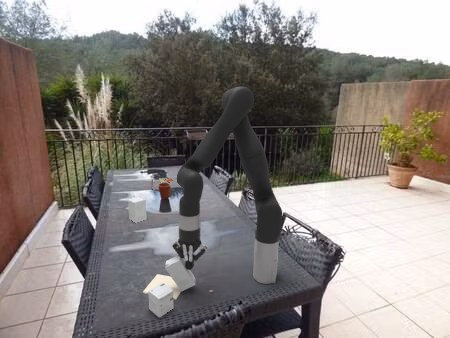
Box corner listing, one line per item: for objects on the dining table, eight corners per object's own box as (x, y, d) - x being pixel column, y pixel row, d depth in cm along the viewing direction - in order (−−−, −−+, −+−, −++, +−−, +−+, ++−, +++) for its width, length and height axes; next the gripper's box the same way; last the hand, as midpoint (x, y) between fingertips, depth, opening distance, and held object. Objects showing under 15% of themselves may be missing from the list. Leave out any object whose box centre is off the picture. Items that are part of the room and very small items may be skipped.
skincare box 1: (159, 318, 93) (158, 299, 91) (148, 309, 97) (147, 290, 95) (174, 308, 97) (173, 290, 95) (163, 300, 101) (162, 282, 99)
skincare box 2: (195, 278, 108) (180, 253, 105) (195, 285, 104) (180, 259, 101) (181, 285, 108) (165, 260, 105) (180, 293, 104) (164, 267, 101)
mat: (187, 281, 112) (187, 280, 111) (175, 300, 101) (175, 298, 101) (157, 275, 115) (157, 274, 115) (142, 293, 104) (142, 291, 104)
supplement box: (147, 220, 164) (146, 199, 161) (135, 224, 159) (134, 202, 156) (140, 216, 169) (139, 196, 166) (128, 220, 164) (127, 199, 161)
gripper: (211, 223, 102) (210, 266, 106) (176, 218, 105) (177, 260, 109) (204, 232, 95) (203, 278, 99) (167, 226, 98) (168, 271, 102)
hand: (189, 268), depth 104 cm, fingers closed
